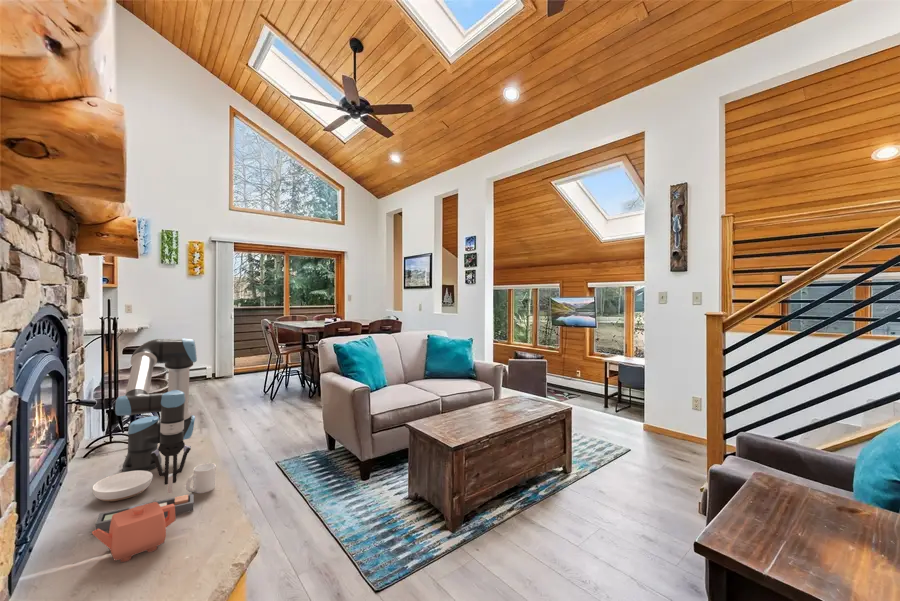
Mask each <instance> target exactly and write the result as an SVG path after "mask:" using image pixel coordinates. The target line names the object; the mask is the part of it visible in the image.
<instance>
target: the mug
mask: <svg viewBox="0 0 900 601" xmlns="http://www.w3.org/2000/svg"><path fill="white" fill-rule="evenodd" d="M216 470H217V465H216V464H215V463H212V462H207V463H201V464H198V465H196V466H195V467H193V472H192V474H191V475H190V476H188V478H187V480H186V482H185V489H186V491H187V492H189V493H192V492H193V494H205V493H208V492H211V491H213V490H214V489H215V487H216ZM191 481H192V488H191V486H190V485H191Z"/></svg>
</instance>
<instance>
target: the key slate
mask: <svg viewBox="0 0 900 601" xmlns="http://www.w3.org/2000/svg"><path fill="white" fill-rule="evenodd" d="M145 504H146V503H142V504H136V505H132V506H129V507H130V508H129V509H132V508H135V507H137V506H142V505H145Z"/></svg>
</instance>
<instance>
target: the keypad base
mask: <svg viewBox="0 0 900 601" xmlns="http://www.w3.org/2000/svg"><path fill="white" fill-rule="evenodd" d="M187 495H188V502H187V503H183V504H178V505H175V497H170V498H166V499H161V500H157V501H155V502H157V503H158V504H162V503H166V502H167V505H170V504H174V505H175V516H176V515H181V514H184V513H189V512H193V511H194V507H195V506H194V504H195V503H194V501H195V500H194V499H195V498H194V493H190V494H187ZM153 502H154V501H152V502H151V501H150V502H147V503H145V504H149V503H153ZM130 507H131V506H128V507H124V508H118V509H114V510H107V511H104V512H99V515H98V517H97V520H96V522H95V525H94V526H95V527H94V528H95V529H94V530H97V529H100V530H103V531H105V532H107V531H109V529H110V524H111V519H110V520H105V521H104V518H105V515H110V514H115V513H119V512H122V511H125V510H128V509H129V508H130ZM164 517H165V518H167V517H168V511H166V512H164Z"/></svg>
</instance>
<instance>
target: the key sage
mask: <svg viewBox="0 0 900 601" xmlns="http://www.w3.org/2000/svg"><path fill="white" fill-rule="evenodd" d="M115 514H116V513H115ZM112 515H114V514H110V515H105V518H104V521H105V520H110V519H112Z"/></svg>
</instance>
